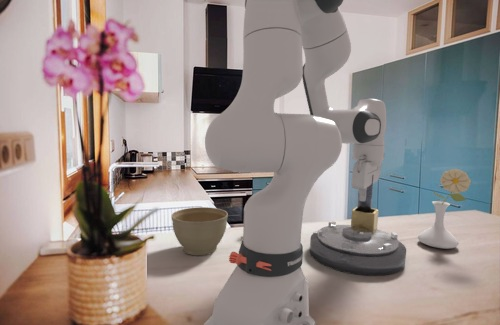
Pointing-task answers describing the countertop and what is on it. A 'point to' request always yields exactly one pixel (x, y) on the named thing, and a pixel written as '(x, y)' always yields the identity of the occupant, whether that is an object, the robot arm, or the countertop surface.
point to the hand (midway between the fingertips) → (364, 199)
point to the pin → (366, 205)
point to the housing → (358, 260)
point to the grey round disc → (359, 236)
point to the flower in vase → (437, 233)
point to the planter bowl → (199, 229)
